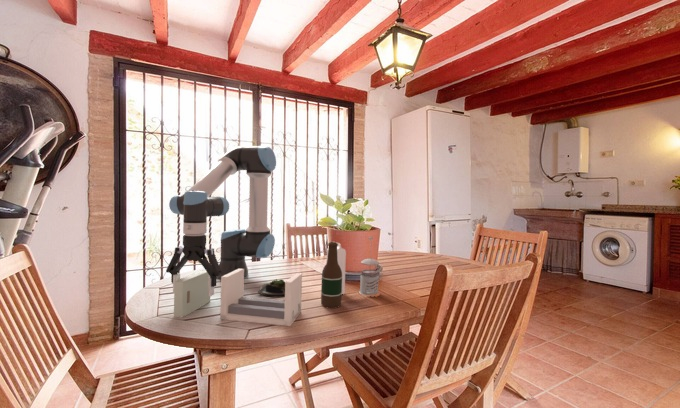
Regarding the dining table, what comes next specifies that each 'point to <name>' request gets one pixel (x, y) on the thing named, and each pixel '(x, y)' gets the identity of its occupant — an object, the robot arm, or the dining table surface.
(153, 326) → the dining table surface
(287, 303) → the cabinet base
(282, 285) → the salad plate
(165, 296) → the dining table surface
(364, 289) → the french press
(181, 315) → the door panel
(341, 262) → the milk
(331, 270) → the beer bottle
